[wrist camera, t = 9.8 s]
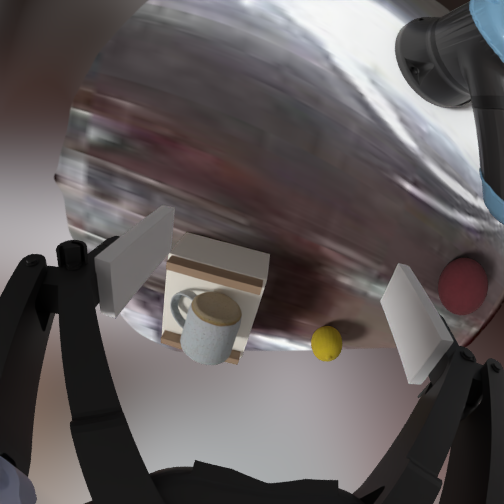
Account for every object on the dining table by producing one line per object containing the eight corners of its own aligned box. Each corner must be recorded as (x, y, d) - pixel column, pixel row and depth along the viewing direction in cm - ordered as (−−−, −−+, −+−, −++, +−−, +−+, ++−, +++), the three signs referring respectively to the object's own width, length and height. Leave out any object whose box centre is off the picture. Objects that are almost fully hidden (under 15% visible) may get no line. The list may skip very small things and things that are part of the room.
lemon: (318, 343, 53) (321, 373, 46) (304, 325, 51) (306, 356, 44) (343, 331, 51) (350, 361, 44) (331, 312, 50) (336, 342, 42)
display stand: (270, 254, 46) (266, 287, 37) (247, 327, 53) (240, 366, 44) (186, 231, 46) (163, 259, 37) (176, 307, 53) (158, 342, 44)
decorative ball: (421, 274, 45) (444, 305, 36) (459, 237, 41) (488, 263, 32) (442, 303, 47) (463, 335, 38) (477, 271, 43) (502, 298, 34)
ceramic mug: (248, 297, 40) (239, 332, 33) (234, 337, 44) (225, 373, 37) (177, 274, 40) (156, 305, 33) (171, 316, 44) (153, 348, 37)
